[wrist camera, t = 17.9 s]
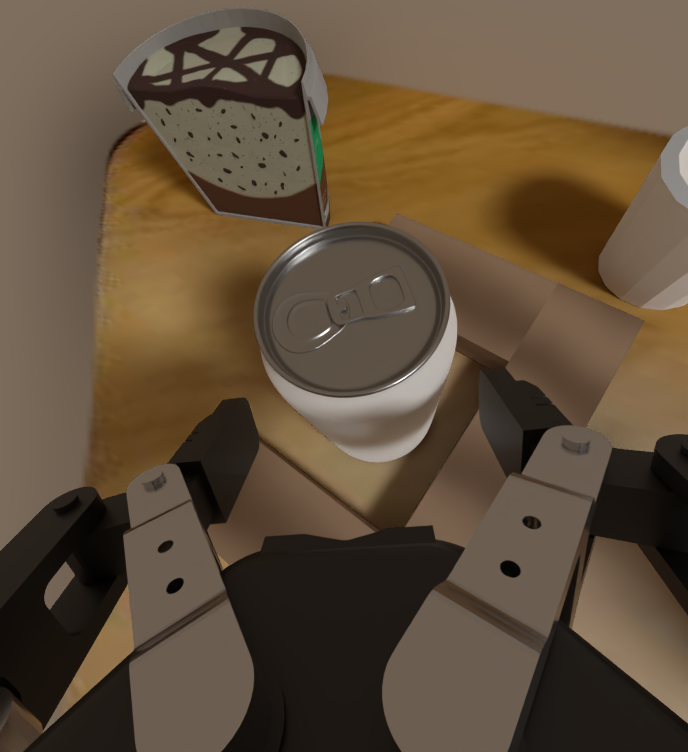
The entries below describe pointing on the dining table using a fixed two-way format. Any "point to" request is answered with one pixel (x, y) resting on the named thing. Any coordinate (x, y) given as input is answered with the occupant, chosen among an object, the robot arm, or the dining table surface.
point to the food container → (237, 112)
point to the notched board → (472, 451)
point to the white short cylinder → (653, 236)
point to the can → (358, 335)
